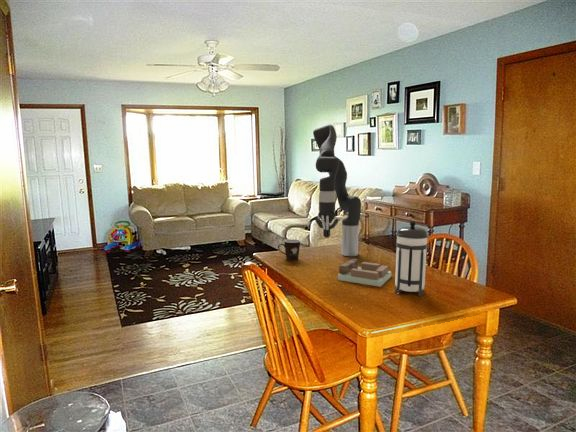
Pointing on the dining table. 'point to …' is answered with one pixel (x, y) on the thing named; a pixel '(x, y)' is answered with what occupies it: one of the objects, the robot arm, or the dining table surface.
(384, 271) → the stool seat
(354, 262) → the brown rectangular bar
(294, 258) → the coffee mug
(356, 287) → the dining table surface
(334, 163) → the robot arm
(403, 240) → the coffee press
